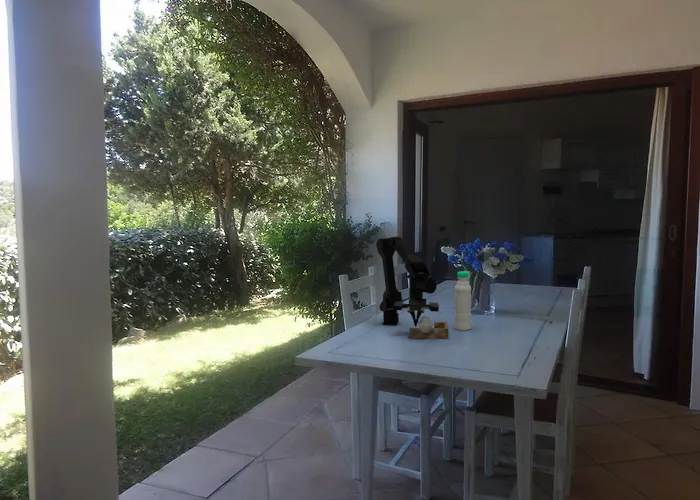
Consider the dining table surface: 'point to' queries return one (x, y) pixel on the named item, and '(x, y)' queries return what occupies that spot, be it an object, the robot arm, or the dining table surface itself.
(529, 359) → the dining table surface
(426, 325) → the muffin
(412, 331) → the channel bracket
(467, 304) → the white milk bottle
